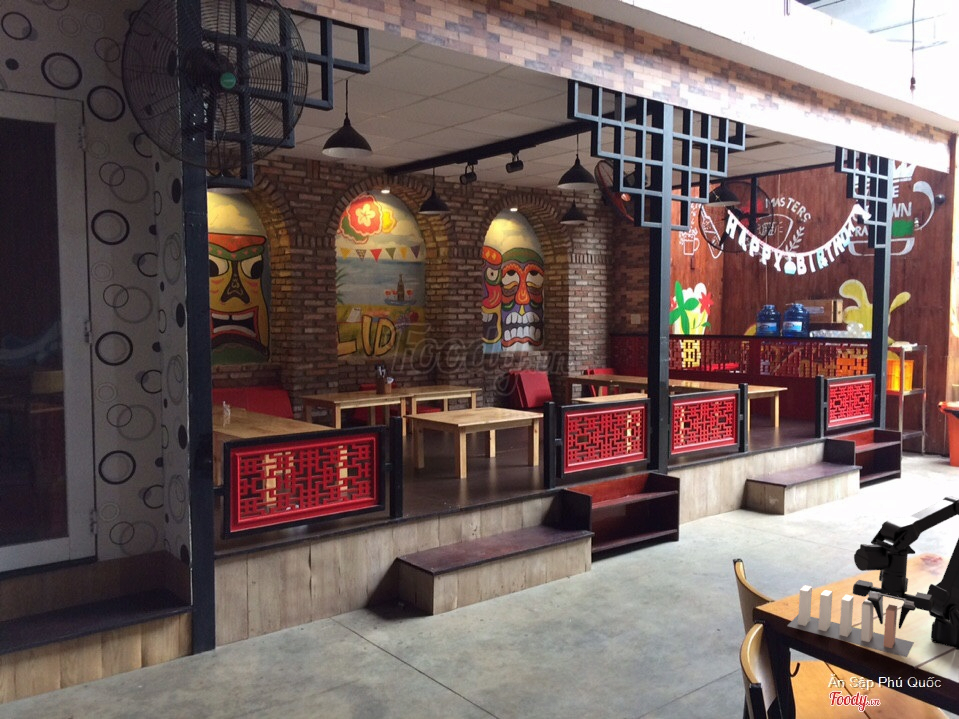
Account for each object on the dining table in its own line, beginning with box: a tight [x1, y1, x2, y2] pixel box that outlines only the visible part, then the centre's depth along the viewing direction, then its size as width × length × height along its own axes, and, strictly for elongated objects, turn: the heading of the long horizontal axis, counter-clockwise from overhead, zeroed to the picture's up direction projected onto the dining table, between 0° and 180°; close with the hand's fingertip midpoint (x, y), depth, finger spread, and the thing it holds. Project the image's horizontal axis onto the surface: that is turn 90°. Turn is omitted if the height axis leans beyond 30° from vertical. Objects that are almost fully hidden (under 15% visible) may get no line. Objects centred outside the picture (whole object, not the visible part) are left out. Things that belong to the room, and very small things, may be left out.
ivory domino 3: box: [839, 594, 855, 637], centre depth 216 cm, size 2×5×10 cm, turn 143°
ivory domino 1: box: [797, 584, 813, 626], centre depth 223 cm, size 2×5×10 cm, turn 143°
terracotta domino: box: [883, 603, 898, 648], centre depth 210 cm, size 2×5×10 cm, turn 143°
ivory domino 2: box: [818, 589, 833, 631], centre depth 220 cm, size 2×5×10 cm, turn 143°
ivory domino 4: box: [860, 598, 875, 642], centre depth 213 cm, size 2×5×10 cm, turn 143°
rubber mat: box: [787, 613, 915, 658], centre depth 216 cm, size 30×12×1 cm, turn 53°
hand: (890, 626), depth 210 cm, fingers open, 4 cm apart
